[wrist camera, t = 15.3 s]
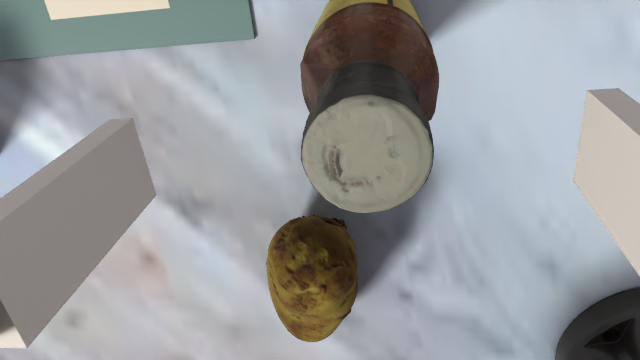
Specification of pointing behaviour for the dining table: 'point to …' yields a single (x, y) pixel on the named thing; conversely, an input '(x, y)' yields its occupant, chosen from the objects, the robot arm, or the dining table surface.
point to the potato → (312, 275)
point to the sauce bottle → (368, 104)
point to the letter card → (116, 25)
